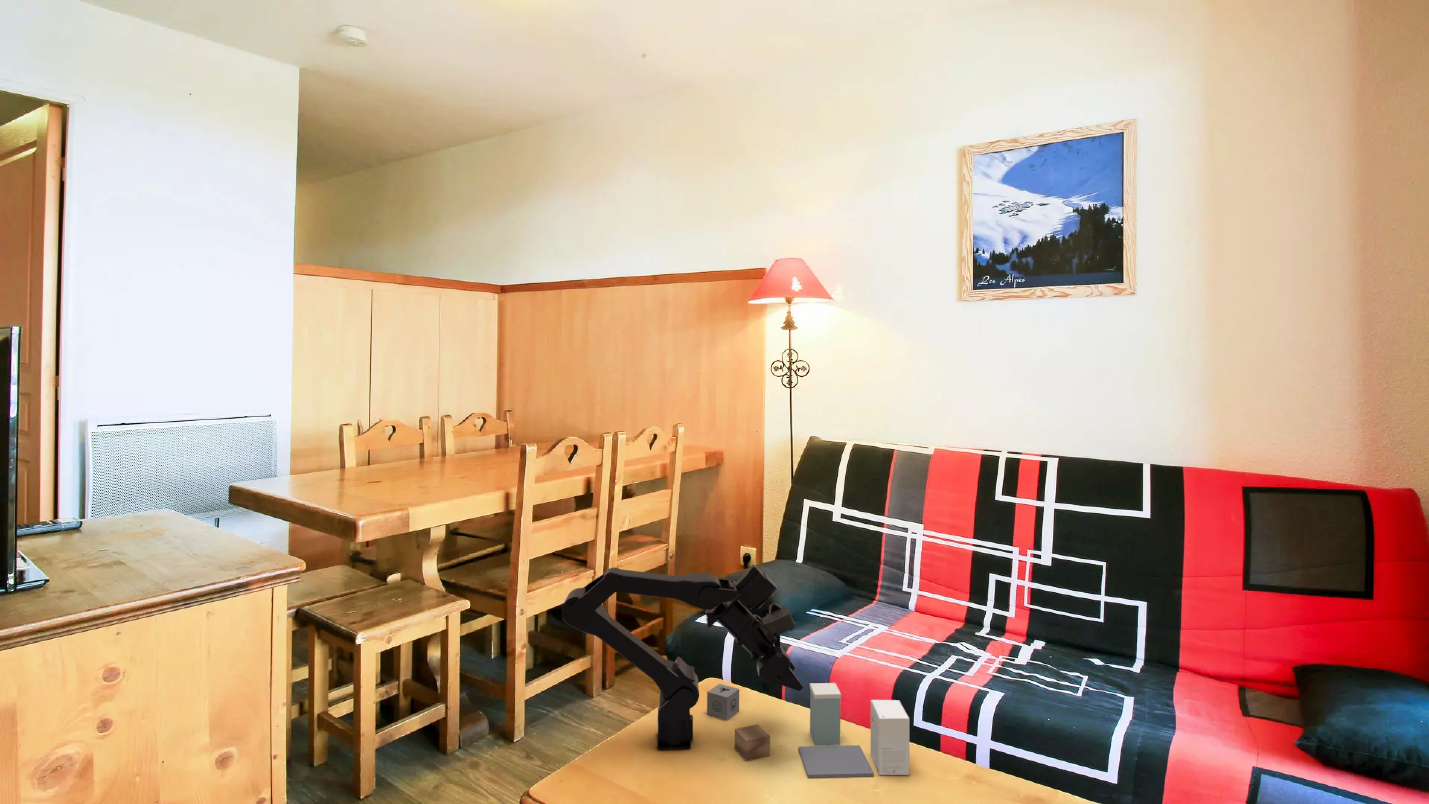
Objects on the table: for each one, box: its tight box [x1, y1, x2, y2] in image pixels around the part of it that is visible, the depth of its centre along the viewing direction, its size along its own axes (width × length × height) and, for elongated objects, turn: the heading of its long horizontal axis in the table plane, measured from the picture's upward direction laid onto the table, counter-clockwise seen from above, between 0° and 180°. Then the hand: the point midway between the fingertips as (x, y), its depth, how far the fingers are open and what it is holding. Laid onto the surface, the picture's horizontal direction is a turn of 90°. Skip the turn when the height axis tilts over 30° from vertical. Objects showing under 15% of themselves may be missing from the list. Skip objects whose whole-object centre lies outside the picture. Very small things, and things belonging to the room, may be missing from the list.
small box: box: [870, 699, 911, 776], centre depth 134 cm, size 8×6×10 cm
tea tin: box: [809, 682, 842, 746], centre depth 143 cm, size 5×5×10 cm
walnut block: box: [734, 723, 771, 762], centre depth 138 cm, size 5×5×4 cm
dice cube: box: [706, 683, 740, 722], centre depth 154 cm, size 5×5×5 cm
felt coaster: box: [797, 744, 875, 779], centre depth 134 cm, size 12×10×1 cm
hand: (797, 679), depth 143 cm, fingers open, 9 cm apart
